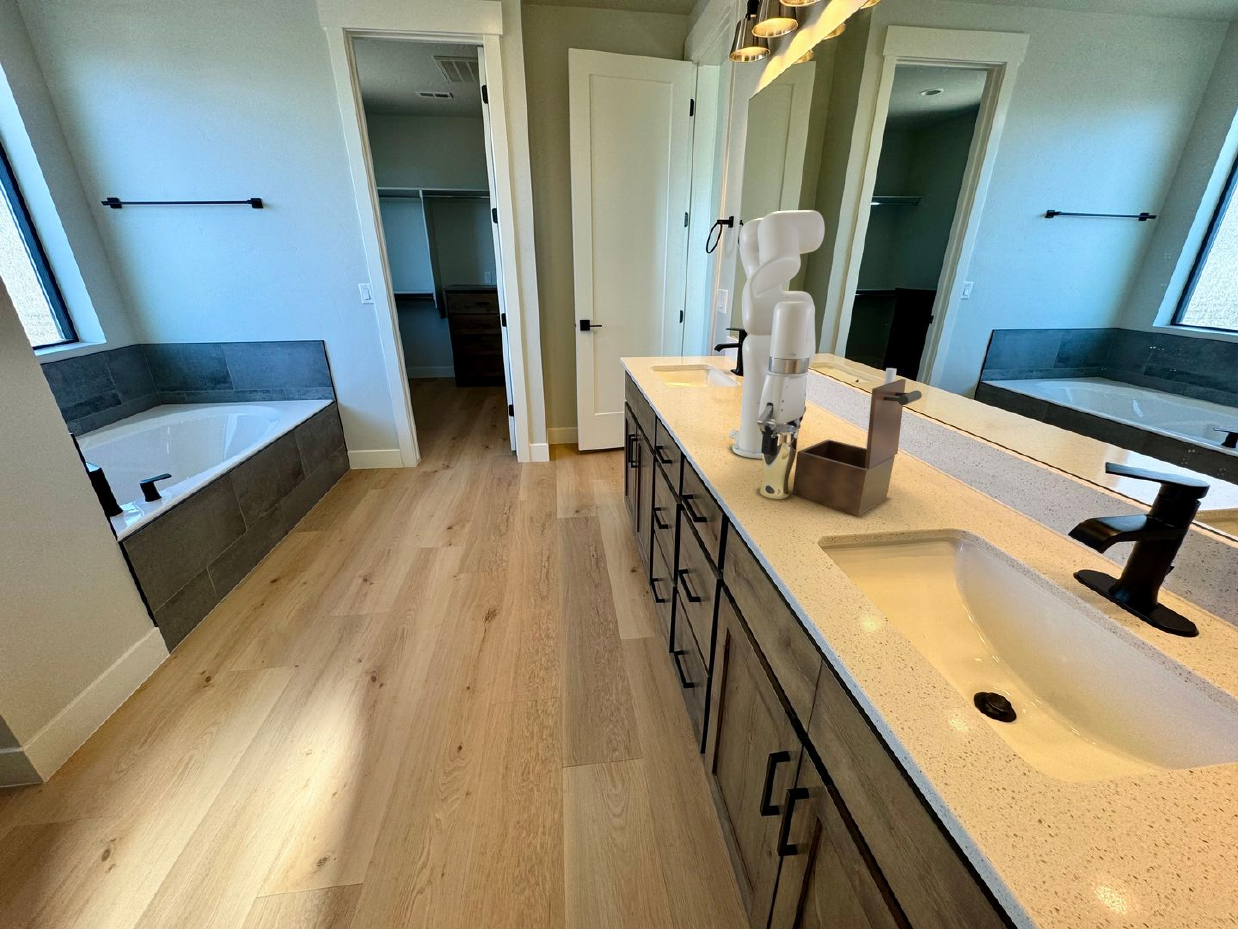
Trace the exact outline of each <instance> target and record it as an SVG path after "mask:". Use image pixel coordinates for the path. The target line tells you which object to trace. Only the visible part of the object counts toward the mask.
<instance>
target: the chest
mask: <svg viewBox="0 0 1238 929" xmlns="http://www.w3.org/2000/svg"><path fill="white" fill-rule="evenodd" d="M866 451H867V449H866V447H861V446H857V445H854V444H849V443H844V442H842V441H837V440H832V439H828V438H827V439H825V440H822V441H820V442H817V443H815V444H813V445H810V446H808V447H806V448H803V449H801V450H799V451H796V458H795V460H796V461H795V468H794V475H793V476H794V478H793V485H792V493H791V494H792V495H794V496H798V497H801V498H804V499H807V500H810V501H813V502H815V503H818V504H820V505H824V506H827V507H829V508H832V509H835V510H838V511H841V512H844V513H847V514H850V515H853V516H855V517H860V516H861V515H863V514H864V513H866V512H868V511H869V510H871V509H872V508H874V507H876V506H877V505H879V504H880V503H882V502H883V501H884V500H886V499H887V497H888V493H889V492H888V491H889V488H890V482H891V479H892V478H891V477H892V473H893V467H894V463H895V457H896V455H894V456H892V457H890V458H888V459H887V460H885V461H883V462H881V463H879V464H877V465H875V466H873V467H872V468H870V469H867V468H865V462H866Z"/></svg>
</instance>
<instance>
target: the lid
mask: <svg viewBox="0 0 1238 929" xmlns="http://www.w3.org/2000/svg"><path fill="white" fill-rule="evenodd" d="M906 381H907V380H906V379H905V378H901V379H898V380H894V382H891V383H888V384H885V385H884V384H882V385H879V386H875V387H873V388H872V389H871V397H870V398H871V400H870V409H869V419H868V429H867V435H868V440H867V439H866V442H867V451H866V462H865V468H867V469H870V468H872V467H873V466H875V465H877V464H879V463H881V462H883V461H885V460H887V459H888V458H890V457H892V456H894V455H895V456H896V455H898V454H899V444H900V443H899V442H900V435H901V425H902V416H903V409H904V406H907V405H909V404H912V403H914V402H916V401H918V400H921V398H922V397H923V393H922V392H921V391H920V390H917V389H916V390H913V391H910V392H905V390H906V389H905V388H906Z"/></svg>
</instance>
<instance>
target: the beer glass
mask: <svg viewBox="0 0 1238 929" xmlns="http://www.w3.org/2000/svg"><path fill="white" fill-rule="evenodd" d="M769 427H770V428H771V429H772V430H773V427H774V426H773V425H770V426H769ZM798 430H799V429H798V428H797V427H795V426H792V425H788V424H786V423H784V424H781V425H780V426H779V429H778V432H777V434H776V437H777V438H778V439H777V449H776V455H775V456H770V455H766V454H763V453H762V459H761V460H762V470H763V479H762V484H761V485H760V486H761V487H760V490H759V493H760V494H761V495H762V496H763V497H766V498H768V499H772V500H782V499H786V498H788V497H789V496H790V486H789V484H790V482H789V481H790V476H791V472H792V469H793V466H794V462H795V460H796V457H797V452H798V451H797V450H798V440H799V432H798ZM797 439H798V440H797Z"/></svg>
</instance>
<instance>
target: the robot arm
mask: <svg viewBox="0 0 1238 929" xmlns="http://www.w3.org/2000/svg"><path fill="white" fill-rule="evenodd" d="M824 220H825V219H824V218H823V215H822V214H821V212H819V211H817V210H815V209H814V210H813V209H808V210H807V209H806V210H804V209H802V210H800V209H799V210H779V211H778V210H777V211H772V212H770V213H768V214H766V215H765V216H764V217H758V218H753V219H751V220H748V221H747V222H746V223H744V224H743V225H742V227H741V229H740V232H739V237H738V238H739V239H738V240H739V241H738V243H739V244H738V245H739V256H740V261H741V264H742V267H743V270H744V273H745V276H746V279H747V280H746V281H745V283H744V286H743V289H742V294H741V319H742V326H743V329H744V331H745V333H747V334H748V335H746V337H745V338H744V340H743V342H742V348H741V350H742V351H741V352H742V353H741V354H742V367H743V368H742V369H743V376H742V377H743V379H742V380H743V382H742V396H741V409H740V419H739V420H740V421H739V430H737V429H730V433H728V438H729V439H732V440H735V441H734V443H733V444H732V451H733V453H735V454H736V455H738V456H741V457H745V458H749V459H758V460H762V453H763V454H766V455H770V456H775V455H776V449H777V439H778V438H777V437H776V434H777V432H778V429H779V426H780V425H781V424H788V425H792V426H795V427H797V428H798V433H799V430H800V429H801V426H802V425H801V422H802V421H803V419H804V415H805V413H806V412H807V406H806V398H807V375H808V373H809V372H808V371H809V368H811V367H812V365H813V364H814V361H815V358H816V350H817V349H816V318H815V317H816V316H815V315H816V306H815V304H814V299H813V297H812V296H811V294H810V293H809V292H807V291H801V290H784V289H783V284H786V283H787V282H789V281H791V280H792V279H793V278H794V277H796V275H797V274H798V273H799V271H800V269H801V263H802V261H801V260H802V259H801V255H803V254H808V253H812V252H815V251H817V250H818V249H819V248H820V247H821V245H822V243H823V241H824V238H825V231H826V227H825V221H824ZM770 425H773V426H774V427H773V430H772V429H771V428H770V427H769V426H770ZM798 440H799V438H798V439H797V441H798Z"/></svg>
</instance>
